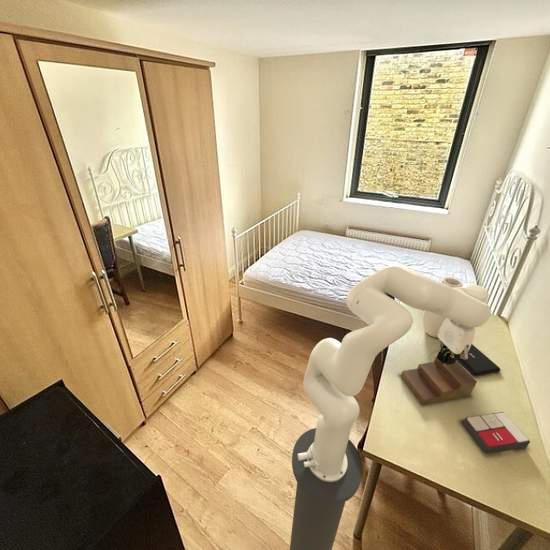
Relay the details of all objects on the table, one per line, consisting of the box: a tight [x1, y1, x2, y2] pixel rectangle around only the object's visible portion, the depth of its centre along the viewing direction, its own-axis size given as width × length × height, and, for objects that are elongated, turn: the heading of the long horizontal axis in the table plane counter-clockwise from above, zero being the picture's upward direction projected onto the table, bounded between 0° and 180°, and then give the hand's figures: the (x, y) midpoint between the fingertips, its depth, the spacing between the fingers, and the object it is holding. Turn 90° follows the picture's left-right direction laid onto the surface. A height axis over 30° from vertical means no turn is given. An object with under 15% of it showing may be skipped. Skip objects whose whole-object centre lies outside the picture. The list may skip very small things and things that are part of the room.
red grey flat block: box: [462, 411, 531, 455], centre depth 98 cm, size 11×4×15 cm
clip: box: [436, 348, 458, 364], centre depth 104 cm, size 3×6×5 cm, turn 102°
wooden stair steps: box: [400, 356, 478, 406], centre depth 114 cm, size 21×14×8 cm, turn 102°
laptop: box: [456, 343, 501, 377], centre depth 129 cm, size 16×20×2 cm
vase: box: [422, 276, 464, 338], centre depth 137 cm, size 14×14×30 cm
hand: (446, 359), depth 106 cm, fingers closed on clip, 3 cm apart
